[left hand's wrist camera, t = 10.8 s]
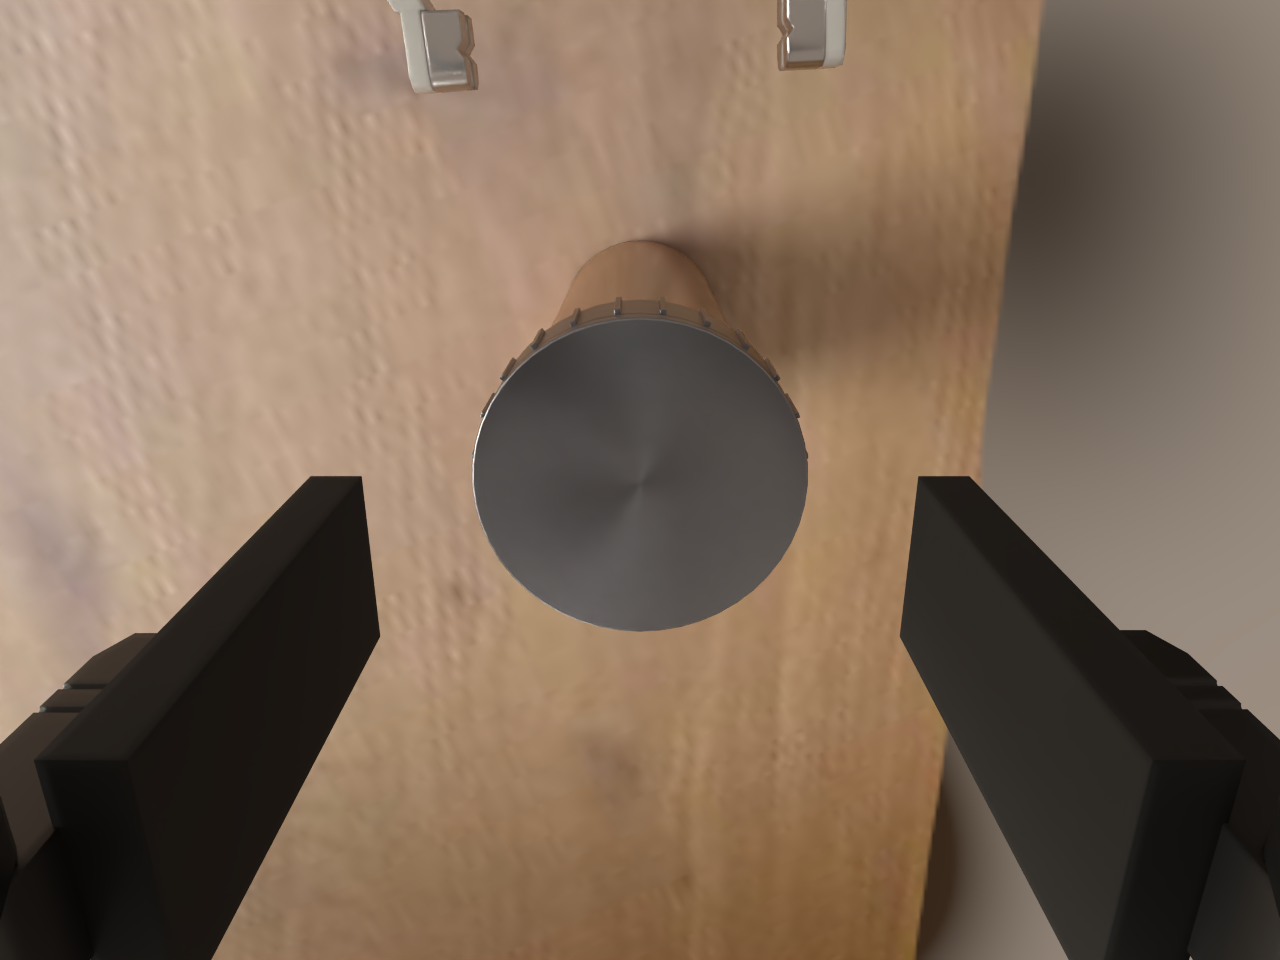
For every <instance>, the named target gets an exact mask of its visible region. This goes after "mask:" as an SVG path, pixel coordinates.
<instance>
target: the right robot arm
mask: <svg viewBox="0 0 1280 960" xmlns="http://www.w3.org/2000/svg"><path fill="white" fill-rule="evenodd" d="M387 1H388V2H389V4H390V5H391V7H392V8H393V10H394V11H395V12H396V13H398V14H400V15H401V20H402V27H403V35H404V42H405V49H406V56H407V63H408V71H409V77H410V81H411V84H412V87H413V90H414V91H415V92H417V93H422V94H430V93H447V92H458V91H470V90H478V70H477V64H476V63H475V61H474V60H473V59H472V58H471V56H470V55H471V53H472V51H473V48H474V46H475V43H474V34H473V26H472V19H471V18H470V17H469V16H468V15H464V13H463V12H462V11H460V10H437V11H436V10H435V8H434V7H433V5H432V3H431V2H430V0H387ZM846 9H847V0H777V27H778V28H779V30H780V31H781V33H782V34H783V37H782V38H781V40H780V41H779V43H778V45H777V59H778V68H779V71H787V70H810V69H825V68H835V67H837V66H840V65H842V63H843V59H844V54H845V47H846Z"/></svg>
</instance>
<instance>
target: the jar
mask: <svg viewBox="0 0 1280 960" xmlns="http://www.w3.org/2000/svg"><path fill="white" fill-rule="evenodd" d="M616 297H622V301H624V300H640V299H641V300H655V301H659V297H664V298H665V302H669V303H674V304H679V305H683V306H686V307H689V308H692V309H695V310H698V311H700V309H701V308H704V309H706V311H707V313H708V315H709V316H711V317H713V318H715V319H717V320H719V321H721V322H722V323H724V324H725V325H727V326H728V324H727V322H726V320H725V318H724V316H723V314H722V312H721V310H720V307H719V305H718V303H717V301H716V299H715V297H714V295H713V293H712V291H711V288H710V286H709V284H708V282H707V280H706V278H705V277H704V275H703V274H702V272H701V271H700V270H699V269H698V267H697V266H696V265H695V264H694V263H693V262H692V261H691V260H690V259H689V258H688V257H686V256H685V255H683V254H682V253H680V252H679V251H677V250H675V249H673V248H671V247H669V246H666V245H663V244H660V243H655V242H651V241H630V242H625V243H620V244H617V245H614V246H611V247H609V248H607V249H605V250H603V251H601V252H600V253H598V254H597V255H595V256H594V257H593V258H591V259H590V260H589V261H588V262H587V263H586V264H585V265H584V266H583V267H582V269H581V270H580V271H579V272H578V274H577V275H576V277H575V279H574V280H573V282H572V284H571V286H570V289H569V291H568V293H567V295H566V297H565V299H564V301H563V303H562V305H561V308H560V310H559V312H558V314H557V316H556V318H555V320H554V322H553V325H555V324H556V323H558V322H559V321H561V320H563V319H565V318H567V317H569V316H571V315H573V312H574V310H575V309H576V308H580V310H581V311H582V310H585V309H588V308H591V307H594V306H597V305H601V304H606V303H611V302H615V301H616ZM553 325H552V326H553ZM728 327H729V326H728Z"/></svg>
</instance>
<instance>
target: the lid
mask: <svg viewBox="0 0 1280 960" xmlns="http://www.w3.org/2000/svg"><path fill="white" fill-rule="evenodd" d="M500 379H501V380H503V381H502V383H501V385H500V387H499V388H498V390H497V392H496V394H495V393H493V394H492V395H491V397H490V399H489V401H488V402H487V404H486V406H485V407H484V409H483V411H482V413H481V416H480V417H482V418H483V420H482V422H481V425H480V429H479V432H478V436H477V439H476V443H475V449H474V451H473V453H472V458H473V463H472V485H473V492H474V499H475V505H476V509H477V512H478V516H479V519H480V523H481V526H482V528H483V530H484V533H485V535H486V537H487V539H488V542H489V544H490V545H491V547H492V549H493V550H494V552H495V554H496V555H497V557H498V559H499V560H500V561H501V563H502V564H503V565H504V566H505V568H506V569H507V570H508V571H509V573H510V574H511V575H512V576H513V577H514V578H515V579H516V580H517V581H518V582H519V583H520V584H521V585H522V586H523V587H524V588H525V589H526V590H527V591H528V592H530V593H531V594H532V595H534V596H535V597H536V598H538V599H539V600H540V601H542V602H543V603H545V604H546V605H548V606H550V607H552V608H553V609H555V610H557V611H558V612H560V613H562V614H565V615H567V616H569V617H572V618H574V619H576V620H579V621H582V622H585V623H588V624H592V625H595V626H598V627H604V628H609V629H615V630H623V631H657V630H665V629H671V628H677V627H682V626H685V625H688V624H692V623H695V622H699V621H701V620H704V619H706V618H708V617H711V616H713V615H715V614H718V613H720V612H722V611H723V610H725V609H727V608H729V607H730V606H732V605H734V604H735V603H737V602H738V601H740V600H741V599H742V598H744V597H745V596H746V595H748V594H749V593H750V592H752V591H753V590H754V589H755V588H756V587H757V586H758V585H759V584H760V583H761V582H762V581H763V580H764V579H765V578H766V577H768V575H769V574H770V573H771V572H772V570H773V569H774V568H775V567H776V565H777V564H778V563H779V562H780V560H781V559H782V557H783V555H784V554H785V552H786V550H787V549H788V547H789V546H790V544H791V542H792V540H793V537H794V535H795V533H796V531H797V528H798V526H799V523H800V520H801V516H802V513H803V509H804V506H805V500H806V493H807V486H808V462H807V458H808V453H807V451H806V448H805V442H804V439H803V435H802V432H801V428H800V425H799V422H798V420H797V418H800V415H799V413H798V411H797V409H796V407H795V406H794V404H793V402H792V401H791V399H790V397H789V395H788V394H785V393H784V392H783V390H782V388H781V386H780V385H779V383H778V380H780V377H779V375H778V374H777V372H776V370H775V369H774V367H773V365H772V364H771V362H770V360H769V359H768V358H767V359H765V360H764V359H763V358H762V357H761V356H760V355H759V354H758V352H757V351H756V350H755V349H754V348H753V346H752V345H750V344H749V343H748V341H747V340H746V338H745V336H744V334H743V332H742V331H741V330H740V329H737V331H734V330H733V329H731V328H730V327H728V326H727V325H725V324H724V323H722V322H721V321H719V320H717V319H715V318H713V317H711V316H709V315H708V313H707V311H706V309H704V308H701V309H700V311H698V310H695V309H692V308H689V307H686V306H683V305H679V304H674V303H669V302H665V298H664V297H659V301H655V300H641V299H640V300H624V301H622V297H616V301H615V302H611V303H606V304H601V305H597V306H594V307H591V308H588V309H585V310H582V311H581V310H580V308H576V309H575V310H574V312H573V315H571V316H569V317H567V318H565V319H563V320H561V321H559V322H558V323H556V324H555V325H553V326H552V327H550V328H549V329H547V330H546V331H544V330H543V328H542V329H540V330H539V331H538V333H537V335H536V337H535V339H534V340H533V342H532V343H531V344H530V345H529V346H528V347H527V348H526V349H525V350H524V351H523V352H522V354H521V355H520V356H519V357H518V358H517V360H516V359H514V358H512V359H511V361H510V362H509V364H508V365H507V367H506V369H505V371H504V372H503V374H502V376H501V377H500Z"/></svg>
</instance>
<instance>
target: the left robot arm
mask: <svg viewBox="0 0 1280 960" xmlns="http://www.w3.org/2000/svg"><path fill="white" fill-rule="evenodd" d="M379 638H380V631H379V622H378V613H377V605H376V596H375V588H374V579H373V570H372V562H371V553H370V545H369V536H368V527H367V519H366V510H365V502H364V493H363V484H362V476H311V477H310V478H309V479H308V480H307V481H306V482H305V483H304V484H303V485H302V486H301V487H300V488H299V489H298V490H297V491H296V492H295V493H294V494H293V495H292V496H291V497H290V498H289V499H288V500H287V501H286V502H285V503H284V504H283V505H282V506H281V507H280V508H279V509H278V510H277V511H276V512H275V513H274V514H273V515H272V516H271V517H270V519H269V520H268V521H267V522H266V523H265V524H264V525H263V526H262V527H261V528H260V529H259V530H258V531H257V532H256V533H255V534H254V535H253V536H252V537H251V538H250V539H249V540H248V541H247V542H246V543H245V544H244V545H243V546H242V547H241V548H240V549H239V550H238V551H237V552H236V553H235V554H234V555H233V556H232V557H231V558H230V559H229V560H228V561H227V563H226V564H225V565H224V566H223V567H222V568H221V569H220V570H219V571H218V572H217V573H216V574H215V575H214V576H213V577H212V578H211V579H210V580H209V581H208V582H207V583H206V584H205V585H204V586H203V587H202V588H201V589H200V590H199V591H198V592H197V593H196V594H195V595H194V596H193V597H192V598H191V599H190V600H189V601H188V602H187V603H186V604H185V606H184V607H183V608H182V609H181V610H180V611H179V612H178V613H177V614H176V615H175V616H174V617H173V618H172V619H171V620H170V621H169V622H168V623H167V624H166V625H165V626H164V627H163V628H162V629H161V630H160V631H159V632H158V633H135V634H133V635H131V636H129V637H127V638H126V639H124V640H122V641H120V642H118V643H117V644H115V645H113V646H111V647H109V648H108V649H106V650H104V651H102V652H100V653H99V654H97V655H95V656H93V657H92V658H91V659H90V660H89V661H88V662H87V663H86V664H85V665H84V666H83V667H81V668H80V669H79V670H78V671H77V672H76V673H75V674H74V675H73V676H72V677H71V678H70V679H69V680H68V681H67V682H66V683H65V684H64V689H58V690H57V691H56V692H55V693H54V694H53V695H52V696H51V697H50V698H49V699H48V700H47V701H46V702H44V703H43V704H42V705H41V706H40V711H39V713H33V714H32V715H31V716H30V717H29V718H28V719H26V720H25V721H24V722H23V723H22V724H21V725H20V726H19V727H18V728H17V729H16V730H15V731H14V732H13V733H12V734H11V735H10V736H9V737H7V738H6V739H5V740H4V741H3V742H2V743H1V744H0V960H90V959H91V960H211V959H212V957H213V955H214V953H215V951H216V950H217V948H218V946H219V944H220V942H221V940H222V938H223V936H224V934H225V932H226V930H227V929H228V927H229V925H230V923H231V921H232V919H233V917H234V915H235V913H236V911H237V909H238V907H239V906H240V904H241V902H242V900H243V898H244V896H245V894H246V892H247V890H248V888H249V886H250V885H251V883H252V881H253V879H254V877H255V875H256V873H257V871H258V869H259V867H260V865H261V863H262V862H263V860H264V858H265V856H266V854H267V852H268V850H269V848H270V846H271V844H272V842H273V841H274V839H275V837H276V835H277V833H278V831H279V829H280V827H281V825H282V823H283V821H284V819H285V818H286V816H287V814H288V812H289V810H290V808H291V806H292V804H293V802H294V800H295V798H296V797H297V795H298V793H299V791H300V789H301V787H302V785H303V783H304V781H305V779H306V777H307V775H308V774H309V772H310V770H311V768H312V766H313V764H314V762H315V760H316V758H317V756H318V754H319V752H320V751H321V749H322V747H323V745H324V743H325V741H326V739H327V737H328V735H329V733H330V731H331V730H332V728H333V726H334V724H335V722H336V720H337V718H338V716H339V714H340V712H341V710H342V708H343V707H344V705H345V703H346V701H347V699H348V697H349V695H350V693H351V691H352V689H353V687H354V686H355V684H356V682H357V680H358V678H359V676H360V674H361V672H362V670H363V668H364V666H365V664H366V663H367V661H368V659H369V657H370V655H371V653H372V651H373V649H374V647H375V645H376V643H377V642H378V640H379ZM900 638H901V640H902V642H903V643H904V645H905V647H906V649H907V651H908V653H909V655H910V657H911V659H912V661H913V663H914V665H915V666H916V668H917V670H918V672H919V674H920V676H921V678H922V680H923V682H924V684H925V686H926V687H927V689H928V691H929V693H930V695H931V697H932V699H933V701H934V703H935V705H936V707H937V709H938V710H939V712H940V714H941V716H942V718H943V720H944V722H945V724H946V726H947V728H948V730H949V731H950V733H951V735H952V737H953V739H954V741H955V743H956V745H957V747H958V749H959V751H960V753H961V754H962V756H963V758H964V760H965V762H966V764H967V766H968V768H969V770H970V772H971V773H972V775H973V777H974V779H975V781H976V783H977V785H978V787H979V789H980V791H981V793H982V795H983V797H984V798H985V800H986V802H987V804H988V806H989V808H990V810H991V812H992V814H993V816H994V818H995V819H996V821H997V823H998V825H999V827H1000V829H1001V831H1002V833H1003V835H1004V837H1005V839H1006V841H1007V842H1008V844H1009V846H1010V848H1011V850H1012V852H1013V854H1014V856H1015V858H1016V860H1017V862H1018V863H1019V865H1020V867H1021V869H1022V871H1023V873H1024V875H1025V877H1026V879H1027V881H1028V882H1029V885H1030V886H1031V888H1032V890H1033V892H1034V894H1035V896H1036V898H1037V900H1038V902H1039V904H1040V906H1041V907H1042V909H1043V911H1044V913H1045V915H1046V917H1047V919H1048V921H1049V923H1050V925H1051V927H1052V929H1053V930H1054V932H1055V934H1056V936H1057V938H1058V940H1059V942H1060V944H1061V946H1062V948H1063V950H1064V951H1065V953H1066V955H1067V957H1068V959H1069V960H1189V958H1190V956H1191V957H1192V959H1193V960H1280V740H1279V739H1278V738H1277V737H1276V736H1275V735H1274V734H1273V733H1272V732H1271V731H1270V730H1269V729H1268V728H1267V727H1266V726H1265V725H1263V724H1262V723H1261V722H1260V721H1259V720H1258V719H1257V718H1256V717H1255V716H1254V715H1253V714H1252V713H1251V712H1250V711H1249V710H1247V709H1242V708H1241V703H1240V702H1239V701H1238V700H1237V699H1236V698H1235V697H1234V696H1233V695H1232V694H1230V693H1229V692H1228V691H1227V690H1226V689H1225V688H1224V687H1223V686H1217V681H1216V679H1214V678H1213V677H1212V676H1211V675H1210V674H1209V673H1208V672H1207V671H1206V670H1205V669H1204V668H1203V667H1202V666H1201V665H1200V664H1198V663H1197V662H1196V661H1195V660H1194V659H1193V658H1192V657H1191V656H1190V655H1189V654H1188V653H1186V652H1184V651H1182V650H1181V649H1179V648H1177V647H1175V646H1173V645H1172V644H1170V643H1168V642H1166V641H1164V640H1162V639H1161V638H1159V637H1157V636H1155V635H1153V634H1152V633H1150V632H1148V631H1146V630H1119V629H1118V628H1117V627H1116V626H1115V625H1114V624H1113V623H1112V622H1111V621H1110V620H1109V619H1108V618H1107V617H1106V616H1105V615H1104V614H1103V613H1102V612H1101V611H1100V610H1099V609H1098V608H1097V607H1096V606H1095V604H1094V603H1093V602H1092V601H1091V600H1090V599H1089V598H1088V597H1087V596H1086V595H1085V594H1084V593H1083V592H1082V591H1081V590H1080V589H1079V588H1078V587H1077V586H1076V585H1075V584H1074V583H1073V582H1072V581H1071V580H1070V579H1069V578H1068V577H1067V576H1066V575H1065V574H1064V573H1063V572H1062V571H1061V570H1060V569H1059V568H1058V567H1057V566H1056V565H1055V564H1054V563H1053V562H1052V560H1051V559H1050V558H1049V557H1048V556H1047V555H1046V554H1045V553H1044V552H1043V551H1042V550H1041V549H1040V548H1039V547H1038V546H1037V545H1036V544H1035V543H1034V542H1033V541H1032V540H1031V539H1030V538H1029V537H1028V536H1027V535H1026V534H1025V533H1024V532H1023V531H1022V530H1021V529H1020V528H1019V527H1018V526H1017V525H1016V524H1015V523H1014V522H1013V521H1012V520H1011V519H1010V518H1009V516H1008V515H1007V514H1006V513H1005V512H1004V511H1003V510H1002V509H1001V508H1000V507H999V506H998V505H997V504H996V503H995V502H994V501H993V500H992V499H991V498H990V497H989V496H988V495H987V494H986V493H985V492H984V491H983V490H982V489H981V488H980V487H979V486H978V485H977V484H976V483H975V482H974V481H973V480H972V479H971V478H970V477H969V476H918V484H917V493H916V502H915V510H914V519H913V527H912V536H911V545H910V553H909V562H908V570H907V579H906V588H905V596H904V605H903V613H902V622H901V631H900Z"/></svg>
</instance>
